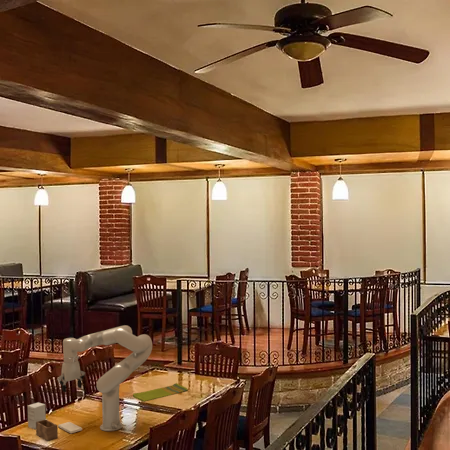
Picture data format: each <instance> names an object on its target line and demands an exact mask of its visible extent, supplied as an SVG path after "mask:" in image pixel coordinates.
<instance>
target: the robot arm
mask: <svg viewBox="0 0 450 450" xmlns="http://www.w3.org/2000/svg"><path fill="white" fill-rule="evenodd" d="M116 343H117V344H119V345H120V346H121V347H124V348H125V349H128V350H130V351H131V353H130V354H129V355H128V356H126V357H125V358H124V359H123V360H121V361H120V362H119V361H118V362H117V364H115V365H114V366H113V367H112V368H110V369H109V370H108V371H107V372H105V373H104V374H103V375H101V377H99V378H98V379H97V381H96V389H97V391H98V392H99V393H102V394H101V403H102V404H101V407H102V409H101V411H102V424H101V425H100V426H99V428H100V430H101V431H104V432H115V431H118V430H120V429H122V428H123V426H124V425H123V423H122V422H121V419H120V415H121V414H120V384H122V383H123V382H124V381H126V379H128V378H129V377H130V375H131V374H132V373H133V372H135V371H136V370H137V369H138V368H140V366H141V365H143V364H144V363H145V362H146V361H147V359H148V358H149V357H150V355H151V354H152V350H153V341H152V338H151V336H149V335H148V334H145V333H144V334H140V335H138V336H136V335H135V334H133V330H132V327H130V326H129V325H125V324H124V325H120V326H116V327H112V328H109V329H106V330H101V331H97V332H94V333H90V334H87V335H83V336H81V337H79V338H74V337H67V338H64V339H63V341H62V352H63V362H62V364H61V375H59V376H58V377H57V381H58V383H59V384H60V385H61V391H62V392H64V393H66V392H67V385H66V384H67V382H69V381H73V380H76V382H77V388H78V389H82V385H83V379H84V378H85V374H86V372H85V371H83V370H81V366H80V361H79V359H80V356H79V355H78V352H79V353H82V352H84V351H87V350H88V349H90V348H93V347H97V346H102V345H104V346H110V345H113V344H116Z"/></svg>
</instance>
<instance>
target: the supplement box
mask: <svg viewBox="0 0 450 450" xmlns="http://www.w3.org/2000/svg"><path fill="white" fill-rule="evenodd" d="M42 420H47V419H46V404H45V403H41V402H39V401H38V402H34V403H31V404H29V405H28V404H27V425H28V426H27V427H28V428H30V429H33V430H36V422H38V421H42Z"/></svg>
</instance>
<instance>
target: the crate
mask: <svg viewBox="0 0 450 450" xmlns="http://www.w3.org/2000/svg"><path fill="white" fill-rule="evenodd" d="M58 428H59V427H58V424H56V423H54V422H53V421H50V420H48V419H46V420H42V421H38V422H36V429H35V431H36V432H35V435H36V436H38V437H39V438H41V439H43V440H45V441H47V442H49V441H53V440H56V439H58V438H59V434H58V432H59V431H58V430H59V429H58Z"/></svg>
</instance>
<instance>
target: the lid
mask: <svg viewBox="0 0 450 450" xmlns="http://www.w3.org/2000/svg"><path fill="white" fill-rule="evenodd" d="M57 427H58V428H60V429H61V430H63V431H65V432H67V433H69V434H74V433H76V432H80V431H83V428H82V427H81V426H79V425H76V424H75V423H73V422H71V421H67V422H64V423H60V424H57Z"/></svg>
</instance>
